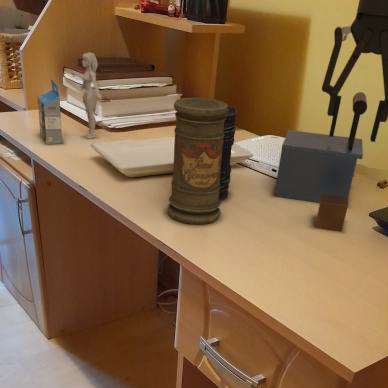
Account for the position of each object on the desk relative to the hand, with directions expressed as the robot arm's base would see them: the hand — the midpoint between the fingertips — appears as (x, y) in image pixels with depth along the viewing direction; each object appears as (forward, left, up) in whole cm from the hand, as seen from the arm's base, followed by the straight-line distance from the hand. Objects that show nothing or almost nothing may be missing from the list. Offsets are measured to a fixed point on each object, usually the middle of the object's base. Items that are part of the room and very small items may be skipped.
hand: (351, 137), depth 96 cm
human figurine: (+59, -17, -11) cm, 63 cm away
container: (+24, +21, -11) cm, 34 cm away
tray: (+36, -5, -11) cm, 38 cm away
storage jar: (+25, +10, -11) cm, 29 cm away
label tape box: (+67, -11, -11) cm, 69 cm away
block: (+1, +16, -11) cm, 19 cm away
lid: (+5, 0, -2) cm, 5 cm away
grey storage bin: (+5, 0, -11) cm, 12 cm away
